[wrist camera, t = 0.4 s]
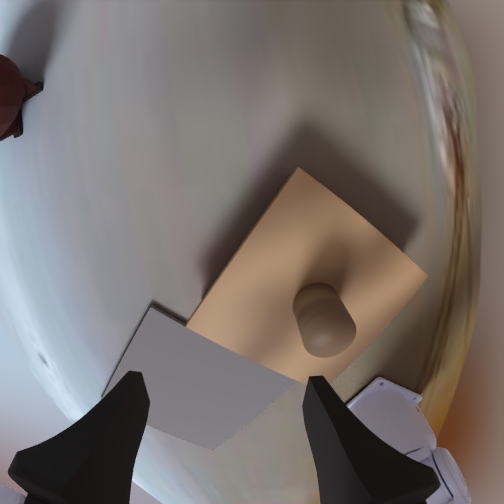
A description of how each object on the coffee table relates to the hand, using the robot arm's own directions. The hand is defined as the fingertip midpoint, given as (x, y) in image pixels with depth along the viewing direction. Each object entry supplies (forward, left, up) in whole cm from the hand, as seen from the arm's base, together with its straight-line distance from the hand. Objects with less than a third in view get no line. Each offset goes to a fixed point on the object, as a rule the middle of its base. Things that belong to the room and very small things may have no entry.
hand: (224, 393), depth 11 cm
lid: (-4, -3, -8) cm, 9 cm away
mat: (-3, +12, -10) cm, 16 cm away
